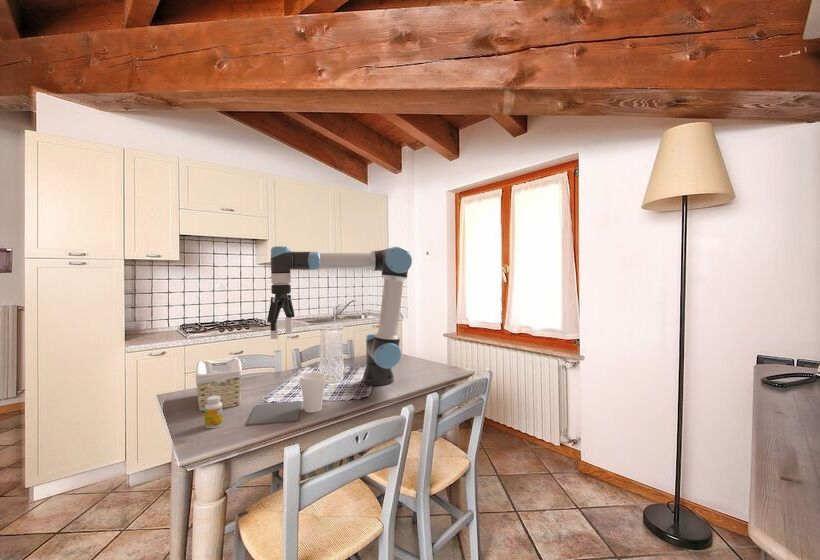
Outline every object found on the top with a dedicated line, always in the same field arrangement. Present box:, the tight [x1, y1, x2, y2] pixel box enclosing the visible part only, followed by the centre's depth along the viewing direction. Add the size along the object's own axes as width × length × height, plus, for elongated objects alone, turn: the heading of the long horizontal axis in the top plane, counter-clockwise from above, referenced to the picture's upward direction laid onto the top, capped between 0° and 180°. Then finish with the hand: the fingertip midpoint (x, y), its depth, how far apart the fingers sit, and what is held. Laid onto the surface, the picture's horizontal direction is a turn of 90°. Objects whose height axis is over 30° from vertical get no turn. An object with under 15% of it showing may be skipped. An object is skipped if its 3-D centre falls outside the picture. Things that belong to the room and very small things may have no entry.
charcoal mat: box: [246, 400, 302, 427], centre depth 133 cm, size 17×18×1 cm
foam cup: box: [299, 371, 327, 413], centre depth 137 cm, size 10×9×13 cm
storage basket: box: [195, 357, 243, 412], centre depth 147 cm, size 24×16×15 cm
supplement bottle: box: [204, 396, 224, 429], centre depth 123 cm, size 5×5×10 cm
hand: (282, 335), depth 147 cm, fingers open, 13 cm apart
